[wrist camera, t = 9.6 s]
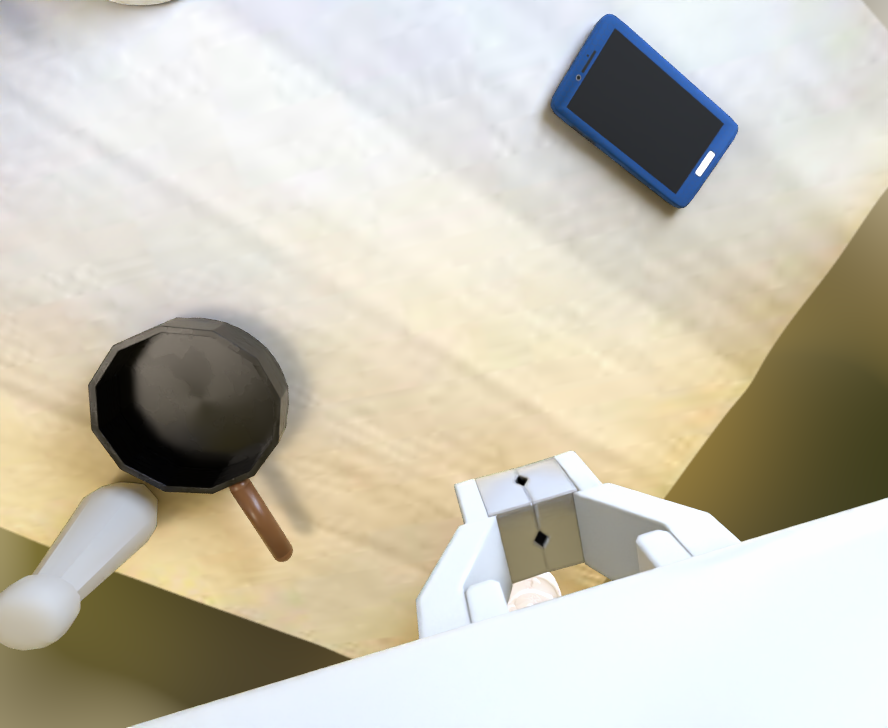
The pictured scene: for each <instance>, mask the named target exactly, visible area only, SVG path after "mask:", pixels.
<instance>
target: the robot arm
mask: <svg viewBox="0 0 888 728" xmlns="http://www.w3.org/2000/svg"><path fill="white" fill-rule="evenodd" d="M107 1H110V2H115V3H120V4H127V5H153V4H159V3H164V2H168V1H171V0H107ZM454 488H455V492H456V496H457V500H458V503H459V507H460V511H461V514H462V518H463V522H464V525H461V526H459V527H458V528H457V530H456V532H455V534H454V535H453V537H452V539H451V540H450V542H449V544H448V546H447V547H446V549H445V551H444V552H443V554H442V556H441V557H440V559H439V561H438V563H437V564H436V566H435V568H434V569H433V571H432V573H431V575H430V576H429V578H428V580H427V581H426V583H425V585H424V587H423V588H422V590H421V592H420V593H419V595H418V597H417V599H416V607H417V619H418V630H419V639H418V640H415V641H412V642H408V643H405V644H402V645H398V646H395V647H392V648H388V649H385V650H382V651H379V652H375V653H372V654H369V655H365V656H362V657H359V658H355V659H352V660H349V661H346V662H343V663H339V664H336V665H332V666H329V667H325V668H322V669H319V670H316V671H312V672H309V673H306V674H302V675H299V676H296V677H292V678H289V679H286V680H282V681H279V682H276V683H273V684H269V685H266V686H263V687H259V688H256V689H253V690H249V691H246V692H243V693H239V694H236V695H233V696H229V697H226V698H223V699H219V700H216V701H213V702H209V703H206V704H203V705H200V706H196V707H193V708H190V709H187V710H183V711H180V712H177V713H173V714H170V715H166V716H163V717H160V718H157V719H154V720H150V721H147V722H143V723H140V724H137V725H133V726H130V727H127V728H888V498H886V499H882V500H879V501H876V502H873V503H869V504H866V505H863V506H859V507H856V508H853V509H849V510H846V511H843V512H839V513H836V514H833V515H829V516H826V517H823V518H820V519H816V520H813V521H810V522H806V523H803V524H799V525H796V526H793V527H790V528H787V529H783V530H780V531H776V532H773V533H770V534H766V535H763V536H760V537H756V538H753V539H750V540H746V541H743V542H741V541H740V540H738V539H737V538H736V537H735V536H734V535H733V534H732V533H731V532H729V531H728V530H727V529H726V528H725V527H724V526H723V525H722V524H720V523H719V522H718V521H717V520H716V519H715V518H714V517H713V516H712V515H710V514H709V513H706V512H703V511H700V510H696V509H693V508H690V507H687V506H683V505H680V504H677V503H673V502H670V501H667V500H664V499H660V498H657V497H654V496H650V495H647V494H644V493H640V492H637V491H634V490H630V489H627V488H624V487H621V486H617V485H614V484H611V483H606V484H602V483H601V482H600V481H599V480H598V479H597V477H596V476H595V475H594V474H593V473H592V472H591V470H590V469H589V468H588V467H587V466H586V465H585V463H584V462H583V461H582V460H581V459H580V458H579V456H578V455H577V454H576V453H575V452H574V451H568V452H565V453H562V454H559V455H556V456H553V457H550V458H547V459H544V460H541V461H537V462H534V463H531V464H528V465H525V466H522V467H518V468H515V469H514V468H513V469H509V470H505V471H501V472H498V473H494V474H490V475H486V476H482V477H479V478H475V480H474V479H470V480H467V481H464V482H460V483H457V484H454ZM584 562H585V564H586V565H588V566H589V567H591V568H593V569H594V570H596V571H597V572H599V573H601V574H602V575H604V576H606V577H607V578H609V579H610V580H612V581H611V582H607V583H604V584H601V585H597V586H594V587H591V588H587V589H584V590H581V591H577V592H574V593H571V594H568V595H564V596H561V597H558V598H554V599H551V600H548V601H544V602H541V603H538V604H534V605H531V606H528V607H524V608H521V609H518V610H514V611H511V612H509V610H508V607H507V605H508V602H509V598H510V595H511V591H512V587H513V585H512V584H514V583H517V582H520V581H523V580H526V579H529V578H532V577H535V576H538V575H541V574H544V573H547V572H551V571H554V570H558V569H562V568H566V567H569V566H573V565H577V564H581V563H584Z"/></svg>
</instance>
